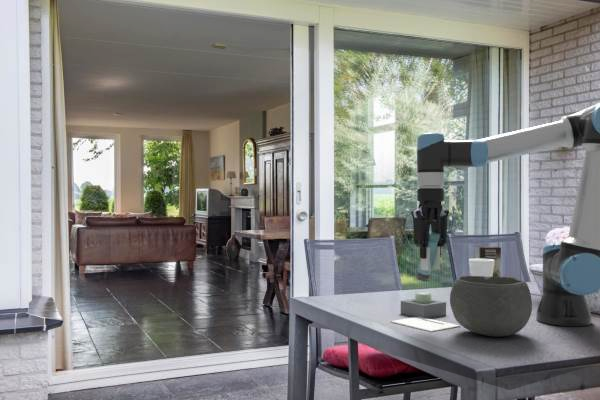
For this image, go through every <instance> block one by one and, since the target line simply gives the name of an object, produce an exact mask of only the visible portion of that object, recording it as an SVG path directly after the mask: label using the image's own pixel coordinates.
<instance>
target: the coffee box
mask: <svg viewBox="0 0 600 400" xmlns="http://www.w3.org/2000/svg"><path fill="white" fill-rule="evenodd" d="M475 258H481V259H493V260H494V269H493V276H492V277H502V275H501V274H502V273H501V272H502V271H501V270H502V269H501V268H502V266H501V265H502V263H501V262H502V247H500V246H496V245H495V246H493V245H491V246H490V245H489V246H488V245H486V246H484V245H482V246H480V245H477V246H475V257H474V259H475Z"/></svg>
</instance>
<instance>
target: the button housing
mask: <svg viewBox="0 0 600 400" xmlns="http://www.w3.org/2000/svg"><path fill="white" fill-rule="evenodd" d="M400 314H402V315H407V316H411V317H424V318H428V319H431V318H435V317H441V316H446V315H447V302H446V301H443V300H442V301H440V300H435V299H431V303H426V304H422V303H417V302H415V298H414V299H413V298H412V299H405V300H404V299H403V300H400Z"/></svg>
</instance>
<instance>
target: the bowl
mask: <svg viewBox="0 0 600 400" xmlns="http://www.w3.org/2000/svg"><path fill="white" fill-rule="evenodd" d="M449 303H450V309H451V311H452V314H453V317H454V319H455V320H456V322H457V323H458V325H460V326H462V328H465V330H468V331H470V332H473V333H476V334H479V335H483V336H487V337H495V338H496V337H497V338H498V337H501V338H502V337H509V336H512V335H515V334H517V333H519V332H520V331H521V330H522V329H524V328H525V327H526V325H527V324H528V323H529V321H530V318H531V316H532V310H533V300H532V294H531V291H530V287H529V285H528V283H527V282H526V281H525V280H524V279H520V278H517V277H513V276H512V277H511V276H508V277H507V276H501V277H485V276H471V275H468V276H467V275H466V276H457V277H456V279H455V280H454V282H453V284H452V287H451V290H450V294H449Z"/></svg>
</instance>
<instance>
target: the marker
mask: <svg viewBox="0 0 600 400" xmlns="http://www.w3.org/2000/svg"><path fill="white" fill-rule="evenodd" d="M439 237H440V234H438V233H436V232H432V231H431V230H430V231H429V240H428V246H427V247H430V270H429V271H427V270H421V259H419V260H420V261H419V265H418V269H417V273H416V279H417V280H418V281H421V282H429V280H430V276H431V272H432V270H433V269H432V265H433V260H434V256H435V252H436V248H437V244H438V241H439Z"/></svg>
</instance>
